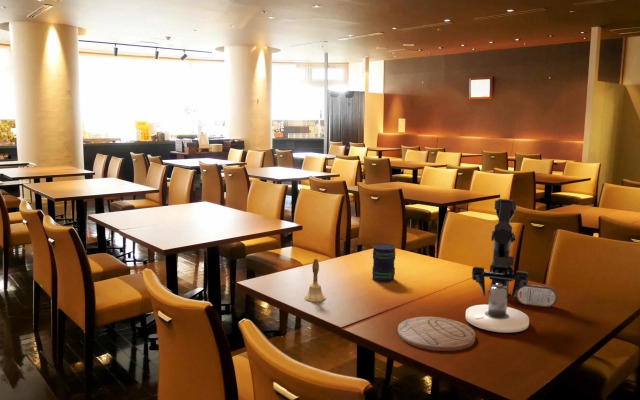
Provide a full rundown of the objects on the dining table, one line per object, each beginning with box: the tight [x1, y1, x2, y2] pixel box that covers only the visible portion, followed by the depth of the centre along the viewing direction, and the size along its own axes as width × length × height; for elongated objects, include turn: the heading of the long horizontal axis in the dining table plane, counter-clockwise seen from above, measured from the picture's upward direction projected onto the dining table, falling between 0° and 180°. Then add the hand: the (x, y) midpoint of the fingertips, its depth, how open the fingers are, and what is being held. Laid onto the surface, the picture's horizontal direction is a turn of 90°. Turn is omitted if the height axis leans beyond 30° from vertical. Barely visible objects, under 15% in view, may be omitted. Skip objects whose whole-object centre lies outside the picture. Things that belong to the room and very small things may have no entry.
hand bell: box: [304, 258, 326, 303], centre depth 207 cm, size 8×8×16 cm
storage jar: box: [371, 243, 396, 284], centre depth 233 cm, size 10×10×15 cm
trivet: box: [397, 316, 476, 352], centre depth 174 cm, size 25×25×2 cm
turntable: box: [465, 304, 530, 333], centre depth 185 cm, size 21×21×2 cm
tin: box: [515, 282, 558, 308], centre depth 203 cm, size 15×3×8 cm, turn 71°
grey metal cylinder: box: [488, 283, 509, 318], centre depth 184 cm, size 6×6×11 cm
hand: (498, 297), depth 183 cm, fingers open, 9 cm apart
